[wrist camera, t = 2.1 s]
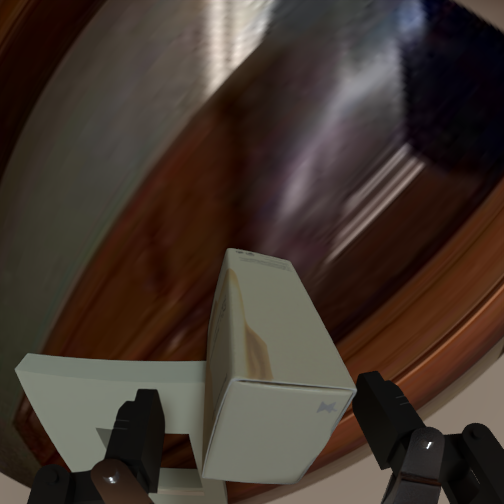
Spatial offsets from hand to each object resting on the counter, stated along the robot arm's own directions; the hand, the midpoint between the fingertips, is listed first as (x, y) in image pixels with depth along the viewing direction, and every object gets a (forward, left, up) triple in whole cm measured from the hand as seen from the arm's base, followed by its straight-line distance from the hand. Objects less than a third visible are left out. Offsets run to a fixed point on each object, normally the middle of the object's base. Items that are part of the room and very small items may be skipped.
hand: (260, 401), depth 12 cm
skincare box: (0, 0, -10) cm, 10 cm away
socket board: (+11, +15, -10) cm, 21 cm away
